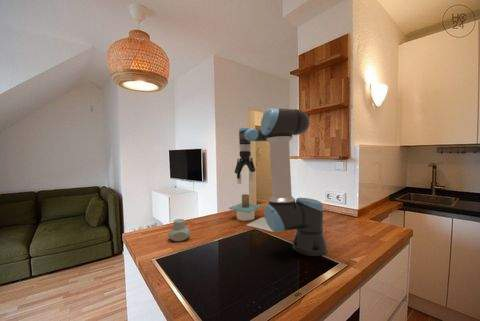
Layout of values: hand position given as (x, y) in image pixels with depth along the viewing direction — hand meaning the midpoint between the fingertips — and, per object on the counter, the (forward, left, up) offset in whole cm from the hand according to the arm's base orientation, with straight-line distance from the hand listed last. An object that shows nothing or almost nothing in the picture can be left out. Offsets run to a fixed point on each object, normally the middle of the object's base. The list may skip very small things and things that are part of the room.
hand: (245, 182), depth 145 cm
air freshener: (-48, +9, -25) cm, 55 cm away
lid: (0, +1, -18) cm, 18 cm away
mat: (-2, -17, -25) cm, 30 cm away
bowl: (0, +1, -25) cm, 25 cm away
